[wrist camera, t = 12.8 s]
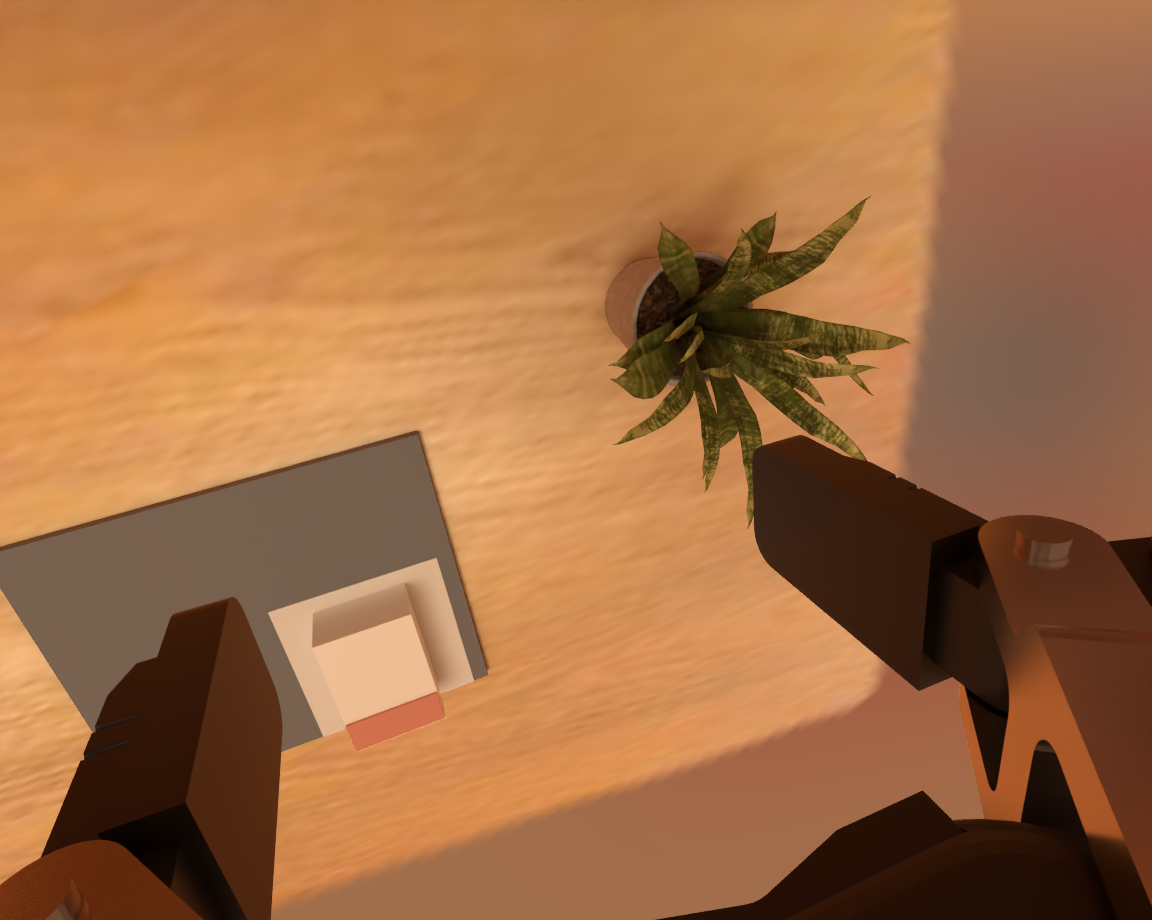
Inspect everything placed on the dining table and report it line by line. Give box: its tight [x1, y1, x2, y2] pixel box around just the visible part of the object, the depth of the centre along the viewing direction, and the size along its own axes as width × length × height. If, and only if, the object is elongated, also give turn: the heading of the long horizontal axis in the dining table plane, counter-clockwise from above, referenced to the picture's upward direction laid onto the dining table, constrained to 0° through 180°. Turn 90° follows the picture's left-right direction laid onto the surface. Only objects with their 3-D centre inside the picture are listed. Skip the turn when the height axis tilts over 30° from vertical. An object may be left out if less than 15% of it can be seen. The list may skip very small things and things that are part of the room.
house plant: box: [605, 196, 910, 529], centre depth 34 cm, size 14×14×16 cm
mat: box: [0, 431, 488, 752], centre depth 41 cm, size 22×18×1 cm
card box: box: [312, 583, 446, 752], centre depth 42 cm, size 8×6×4 cm
